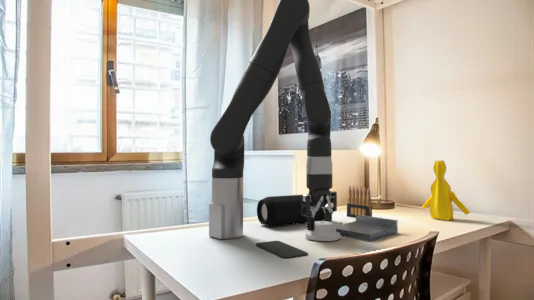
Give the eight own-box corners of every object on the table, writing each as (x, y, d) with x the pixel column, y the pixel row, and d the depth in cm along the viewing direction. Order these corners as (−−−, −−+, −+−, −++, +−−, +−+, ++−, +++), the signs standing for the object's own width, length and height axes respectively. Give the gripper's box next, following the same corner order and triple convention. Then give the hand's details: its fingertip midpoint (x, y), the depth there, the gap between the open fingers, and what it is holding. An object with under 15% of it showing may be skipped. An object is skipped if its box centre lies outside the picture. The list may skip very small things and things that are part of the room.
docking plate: (369, 241, 102) (369, 227, 102) (328, 233, 112) (328, 220, 112) (397, 233, 113) (397, 220, 113) (357, 226, 123) (357, 214, 123)
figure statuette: (472, 221, 133) (472, 160, 133) (463, 224, 128) (462, 160, 128) (424, 215, 147) (424, 159, 147) (414, 217, 142) (414, 160, 142)
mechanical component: (332, 244, 100) (345, 237, 108) (332, 227, 100) (345, 221, 108) (299, 239, 105) (314, 233, 113) (299, 223, 105) (314, 218, 113)
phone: (283, 257, 85) (254, 243, 98) (283, 261, 85) (254, 246, 98) (310, 253, 89) (278, 240, 102) (310, 256, 89) (278, 243, 102)
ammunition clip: (346, 216, 144) (346, 185, 144) (349, 215, 145) (349, 185, 145) (369, 220, 135) (369, 187, 135) (372, 219, 136) (372, 187, 137)
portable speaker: (316, 218, 139) (316, 192, 140) (332, 223, 131) (332, 194, 131) (255, 224, 128) (255, 195, 128) (269, 229, 119) (269, 198, 119)
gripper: (324, 171, 115) (324, 223, 115) (293, 172, 105) (293, 230, 105) (344, 171, 110) (344, 227, 110) (313, 173, 100) (314, 234, 100)
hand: (319, 228), depth 107 cm, fingers closed on mechanical component, 7 cm apart
